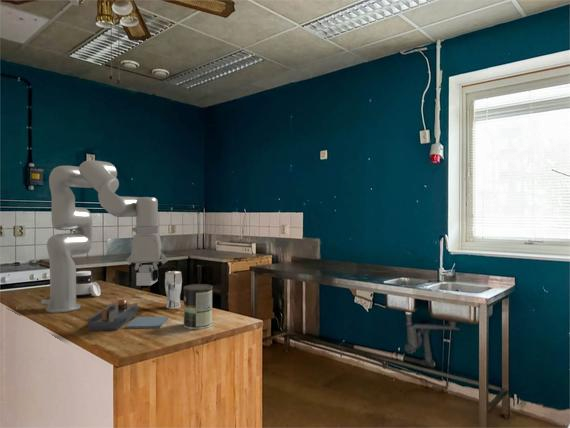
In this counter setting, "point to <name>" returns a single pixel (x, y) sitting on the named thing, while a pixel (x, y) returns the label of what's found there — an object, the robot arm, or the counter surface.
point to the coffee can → (197, 306)
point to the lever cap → (145, 275)
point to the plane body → (112, 316)
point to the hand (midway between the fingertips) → (147, 279)
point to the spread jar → (86, 285)
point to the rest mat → (146, 322)
